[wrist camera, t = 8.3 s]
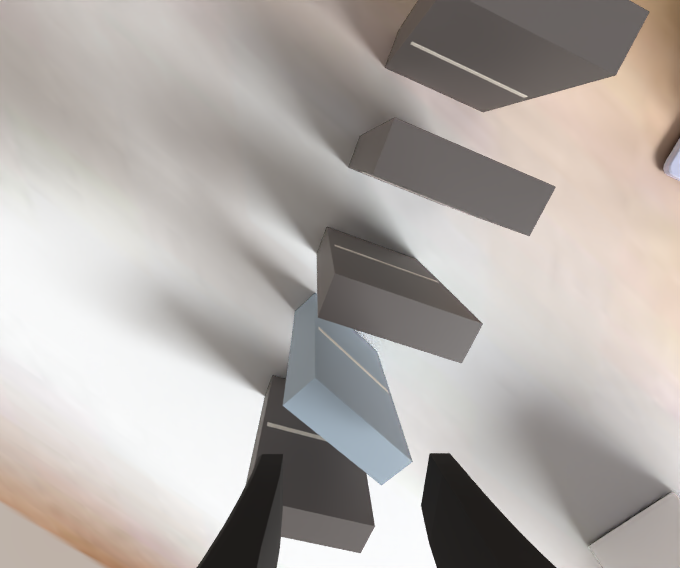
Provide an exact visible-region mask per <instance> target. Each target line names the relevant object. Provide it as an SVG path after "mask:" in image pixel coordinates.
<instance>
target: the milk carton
mask: <svg viewBox="0 0 680 568" xmlns="http://www.w3.org/2000/svg"><path fill="white" fill-rule="evenodd" d="M589 549H590V550H591V552H592V553H593V555H594V556H595V558H596V559H597V561H598V562H599V563H600V565H601V566H602V568H680V498H679V497H678V496H677V495H676V494H675V493H674V492H672V493H670V494H668V495H667V496H665V497H664V498H662V499H660V500H659V501H657V502H656V503H654V504H653V505H651V506H650V507H648V508H646V509H645V510H643V511H642V512H640V513H639V514H637V515H636V516H634V517H633V518H631V519H629V520H628V521H626V522H625V523H623V524H622V525H620V526H619V527H617V528H616V529H614V530H612V531H611V532H609V533H608V534H606V535H605V536H603V537H602V538H600V539H599V540H597V541H596V542H594V543H593V544H591V545H590V546H589Z"/></svg>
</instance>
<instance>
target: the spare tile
mask: <svg viewBox="0 0 680 568" xmlns="http://www.w3.org/2000/svg"><path fill="white" fill-rule="evenodd" d="M283 406H284V407H285V408H286V409H287V410H289V411H290V412H291V413H292V414H294V415H295V416H296V417H297V418H299V419H300V420H301V421H302V422H304V423H305V424H306V425H307V426H308V427H310V428H311V429H312V430H313V431H315V432H316V433H317V434H318V435H320V436H321V437H322V438H323V439H325V440H326V441H327V442H328V443H330V444H331V445H332V446H333V447H335V448H336V449H337V450H338V451H339V452H341V453H342V454H343V455H344V456H346V457H347V458H348V459H349V460H351V461H352V462H353V463H354V464H356V465H357V466H358V467H359V468H361V469H362V470H363V471H364V472H366V473H367V474H368V475H369V476H371V477H372V478H373V479H374V480H375V481H377V482H378V483H379V484H380V485H383V484H384V483H385V482H387V481H388V480H389V479H390V478H392V477H393V476H394V475H396V474H397V473H398V472H400V471H401V470H402V469H404V468H405V467H406V466H408V465H409V464H410V463H411V462H413V461H412V458H411V455H410V452H409V449H408V446H407V443H406V440H405V437H404V434H403V431H402V427H401V424H400V421H399V418H398V415H397V412H396V409H395V406H394V403H393V400H392V396H391V393H390V390H389V387H388V384H387V381H386V378H385V375H384V372H383V369H382V365H381V362H380V359H379V356H378V353H377V351H376V350H375V349H373V348H372V347H371V346H370V345H369V344H368V343H367V342H366V341H365V340H364V339H363V338H362V337H361V336H360V335H359V334H358V333H357V332H356V331H355V330H354V329H352V328H349V327H346V326H343V325H339V324H336V323H333V322H330V321H327V320H324V319H321V318H318V305H317V294H316V293H314V294H313V295H312V296H311V297H310V298H309V299H308V300H307V301H306V302H305V303H304V304H302V305H301V306H300V307H299V308H298V309H297V310H296V311H295V316H294V323H293V331H292V338H291V346H290V354H289V361H288V369H287V376H286V384H285V391H284V399H283Z"/></svg>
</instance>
